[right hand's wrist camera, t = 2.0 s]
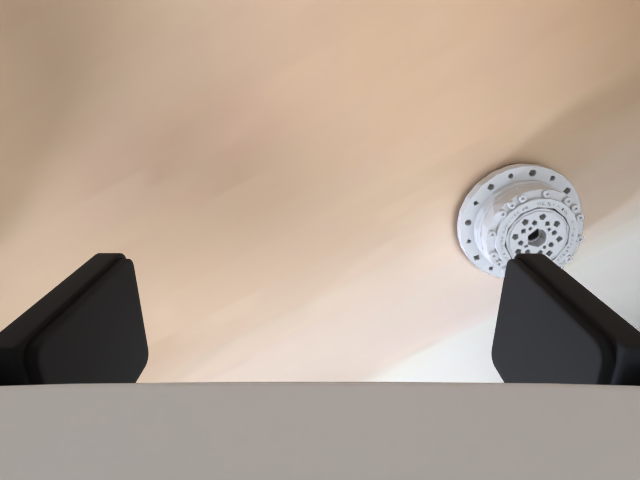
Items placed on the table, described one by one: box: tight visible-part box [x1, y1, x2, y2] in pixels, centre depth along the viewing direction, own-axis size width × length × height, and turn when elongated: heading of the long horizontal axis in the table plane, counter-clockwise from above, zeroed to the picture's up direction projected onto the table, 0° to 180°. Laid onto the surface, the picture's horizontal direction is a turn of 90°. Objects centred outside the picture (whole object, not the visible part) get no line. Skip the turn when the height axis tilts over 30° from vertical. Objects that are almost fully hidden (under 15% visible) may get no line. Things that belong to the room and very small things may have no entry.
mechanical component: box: [457, 164, 584, 278], centre depth 35 cm, size 10×4×10 cm
